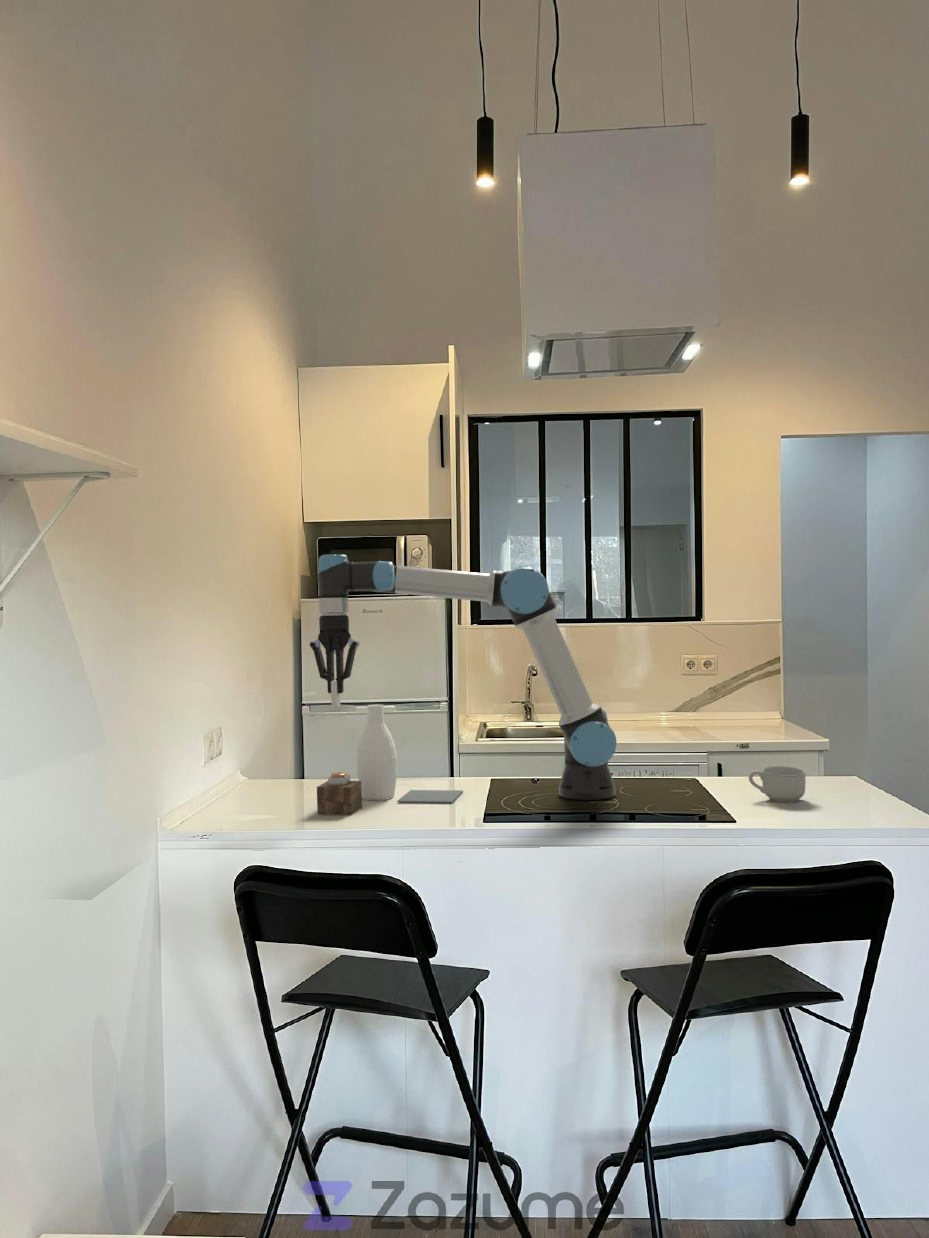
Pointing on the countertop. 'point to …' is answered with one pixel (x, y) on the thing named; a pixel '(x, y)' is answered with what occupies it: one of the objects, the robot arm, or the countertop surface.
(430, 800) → the mat
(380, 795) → the bottle
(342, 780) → the release button
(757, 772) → the teacup
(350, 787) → the button housing
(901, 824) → the countertop surface
